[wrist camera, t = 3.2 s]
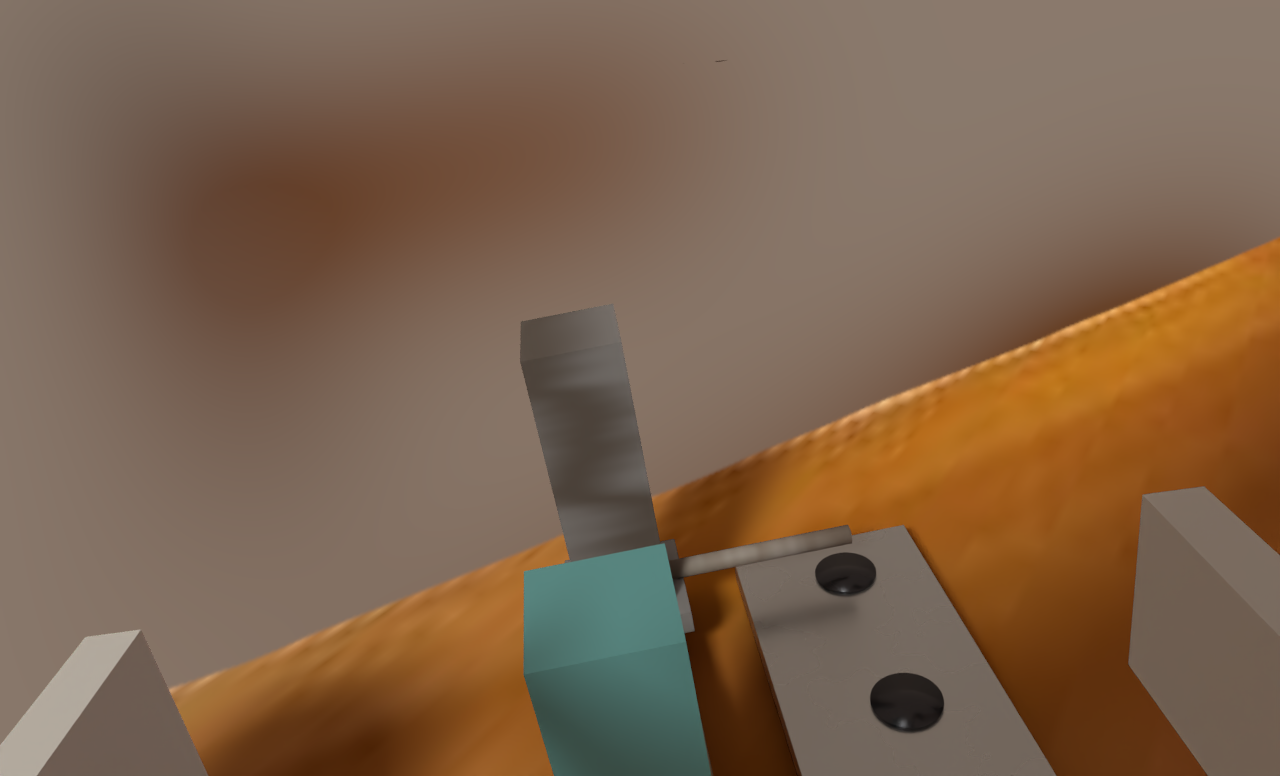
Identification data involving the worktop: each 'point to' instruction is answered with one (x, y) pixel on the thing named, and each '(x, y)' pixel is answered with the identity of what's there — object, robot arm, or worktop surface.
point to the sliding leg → (612, 668)
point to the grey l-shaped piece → (613, 452)
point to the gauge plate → (879, 667)
